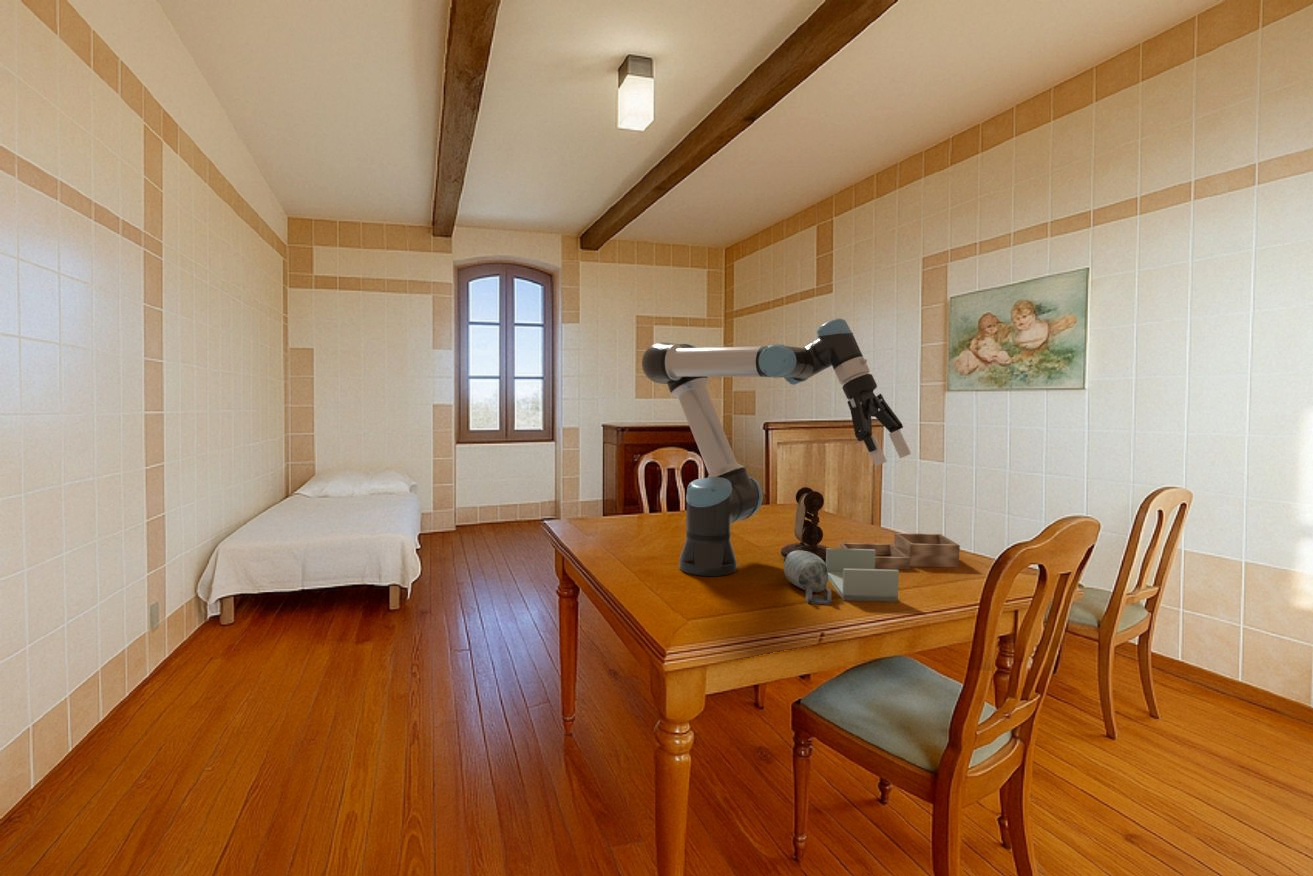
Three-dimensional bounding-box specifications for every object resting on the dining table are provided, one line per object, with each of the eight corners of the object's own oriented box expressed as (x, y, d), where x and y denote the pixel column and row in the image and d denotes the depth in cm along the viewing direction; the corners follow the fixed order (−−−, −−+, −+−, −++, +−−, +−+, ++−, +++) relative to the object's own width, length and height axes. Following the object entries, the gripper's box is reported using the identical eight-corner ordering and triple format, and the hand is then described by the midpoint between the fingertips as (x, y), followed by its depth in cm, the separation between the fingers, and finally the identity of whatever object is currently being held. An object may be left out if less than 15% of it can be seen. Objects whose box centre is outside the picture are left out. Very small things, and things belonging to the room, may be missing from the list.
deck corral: (852, 567, 168) (852, 556, 168) (838, 553, 183) (839, 542, 182) (909, 569, 167) (910, 558, 167) (891, 554, 182) (891, 544, 182)
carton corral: (909, 566, 170) (910, 544, 169) (893, 553, 183) (894, 533, 182) (958, 567, 169) (959, 545, 169) (939, 554, 182) (940, 534, 182)
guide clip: (808, 603, 140) (808, 590, 140) (805, 599, 143) (806, 586, 143) (830, 604, 140) (831, 591, 139) (827, 599, 142) (828, 586, 142)
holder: (843, 600, 142) (844, 569, 142) (825, 575, 161) (826, 548, 161) (897, 601, 142) (898, 571, 141) (873, 576, 161) (874, 549, 160)
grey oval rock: (842, 581, 145) (821, 543, 146) (807, 602, 144) (786, 562, 145) (823, 578, 159) (804, 542, 160) (791, 596, 157) (771, 560, 159)
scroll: (774, 553, 181) (775, 485, 180) (823, 552, 183) (825, 484, 181) (790, 568, 167) (792, 494, 165) (844, 567, 168) (846, 493, 167)
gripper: (844, 374, 141) (884, 461, 137) (891, 370, 159) (928, 447, 155) (817, 389, 146) (855, 473, 142) (866, 383, 164) (901, 458, 160)
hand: (893, 460), depth 148 cm, fingers open, 13 cm apart
